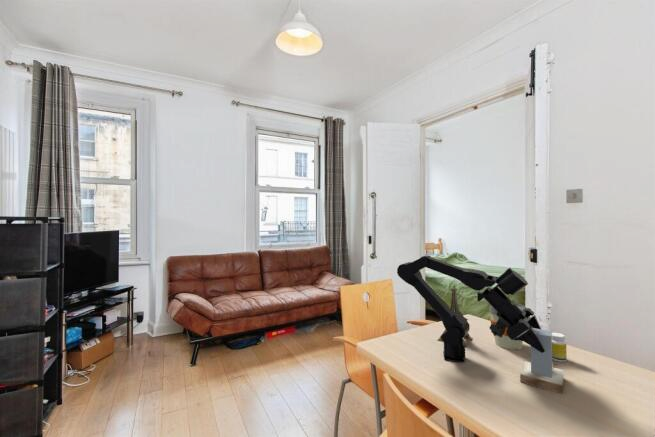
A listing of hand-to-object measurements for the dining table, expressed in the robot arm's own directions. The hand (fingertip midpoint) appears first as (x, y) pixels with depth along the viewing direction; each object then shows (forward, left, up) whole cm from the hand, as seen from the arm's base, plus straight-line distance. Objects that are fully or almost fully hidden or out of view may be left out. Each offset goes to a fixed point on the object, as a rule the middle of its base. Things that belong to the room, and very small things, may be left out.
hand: (544, 346), depth 91 cm
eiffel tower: (-23, +26, -11) cm, 36 cm away
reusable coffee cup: (-4, +26, -10) cm, 29 cm away
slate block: (-1, 0, -8) cm, 8 cm away
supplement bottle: (+9, +17, -10) cm, 22 cm away
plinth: (-1, 0, -10) cm, 10 cm away
